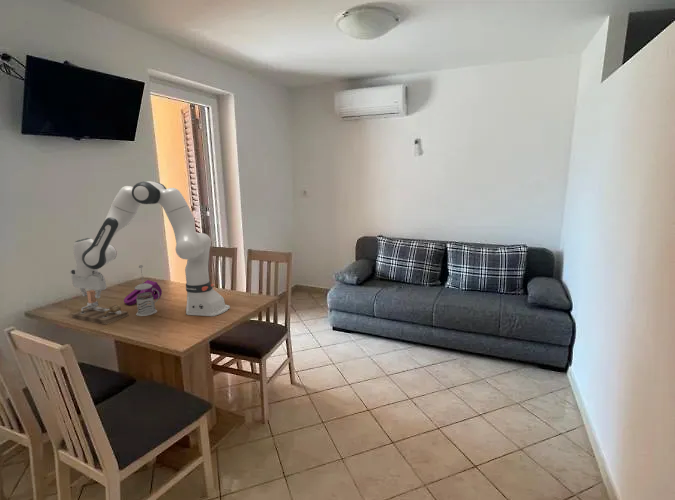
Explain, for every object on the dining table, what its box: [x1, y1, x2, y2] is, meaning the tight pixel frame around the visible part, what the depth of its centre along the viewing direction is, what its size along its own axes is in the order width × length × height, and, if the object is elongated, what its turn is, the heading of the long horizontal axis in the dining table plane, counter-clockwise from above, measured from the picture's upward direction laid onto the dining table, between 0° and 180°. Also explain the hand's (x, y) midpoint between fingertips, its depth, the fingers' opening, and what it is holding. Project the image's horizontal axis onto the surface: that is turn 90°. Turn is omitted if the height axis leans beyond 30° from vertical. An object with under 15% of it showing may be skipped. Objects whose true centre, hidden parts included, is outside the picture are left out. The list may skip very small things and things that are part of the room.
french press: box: [134, 264, 160, 317], centre depth 192 cm, size 10×12×25 cm
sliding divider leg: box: [80, 289, 99, 312], centre depth 191 cm, size 3×8×9 cm, turn 158°
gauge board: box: [71, 304, 129, 325], centre depth 189 cm, size 24×12×6 cm, turn 68°
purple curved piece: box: [123, 279, 163, 306], centre depth 213 cm, size 10×8×18 cm
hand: (91, 296), depth 193 cm, fingers open, 8 cm apart
